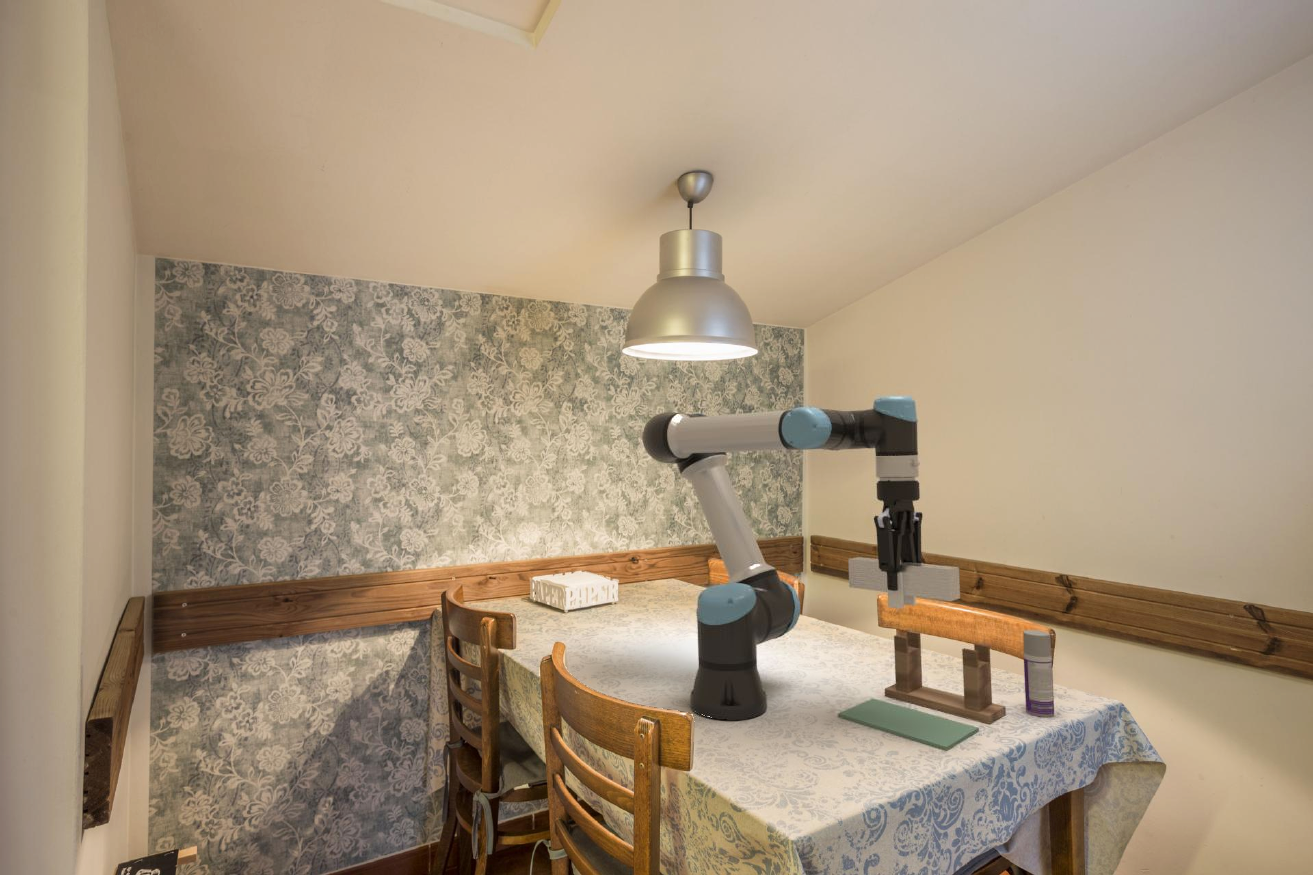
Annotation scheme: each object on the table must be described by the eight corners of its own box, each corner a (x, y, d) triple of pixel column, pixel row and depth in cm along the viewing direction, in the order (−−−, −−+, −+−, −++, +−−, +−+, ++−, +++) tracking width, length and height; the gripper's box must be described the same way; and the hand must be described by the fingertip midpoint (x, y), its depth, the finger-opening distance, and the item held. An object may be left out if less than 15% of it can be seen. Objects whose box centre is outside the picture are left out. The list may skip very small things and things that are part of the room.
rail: (950, 601, 115) (949, 569, 116) (849, 586, 130) (848, 559, 131) (960, 598, 118) (958, 567, 118) (859, 584, 133) (858, 557, 133)
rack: (989, 724, 122) (986, 654, 123) (884, 695, 138) (882, 634, 138) (1005, 714, 127) (1003, 647, 127) (902, 687, 142) (900, 628, 143)
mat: (946, 750, 111) (946, 746, 111) (838, 716, 127) (838, 713, 127) (978, 730, 119) (978, 727, 119) (872, 701, 135) (872, 698, 135)
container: (1028, 706, 130) (1025, 628, 131) (1056, 711, 127) (1052, 631, 128) (1023, 713, 127) (1020, 633, 127) (1052, 719, 124) (1048, 636, 124)
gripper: (892, 480, 117) (897, 616, 116) (938, 478, 128) (943, 602, 127) (854, 480, 122) (858, 610, 121) (902, 478, 133) (906, 597, 132)
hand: (902, 605), depth 124 cm, fingers closed on rail, 4 cm apart
